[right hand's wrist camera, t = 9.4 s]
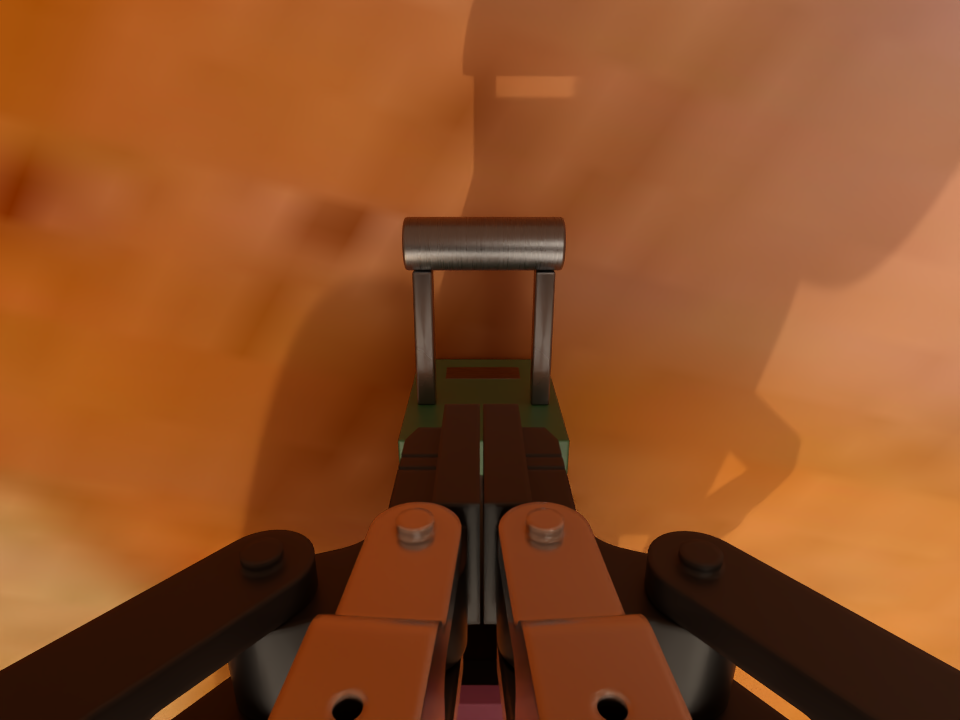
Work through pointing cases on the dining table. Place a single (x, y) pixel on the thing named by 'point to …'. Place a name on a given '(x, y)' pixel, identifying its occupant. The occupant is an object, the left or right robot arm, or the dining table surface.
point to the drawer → (483, 379)
